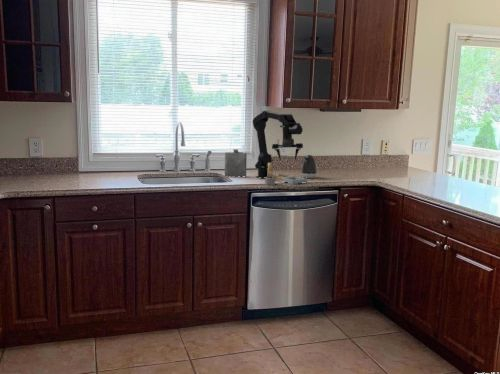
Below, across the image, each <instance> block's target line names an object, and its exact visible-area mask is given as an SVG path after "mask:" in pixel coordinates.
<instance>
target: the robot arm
mask: <svg viewBox="0 0 500 374" xmlns="http://www.w3.org/2000/svg"><path fill="white" fill-rule="evenodd" d="M269 119H273V120H277V121H279V123H281V124H280V126H279V127H280V128H282V143H281V144H280V143H272V145H271V149H273V150H274V151H276V153H277V156H278V158H279V160H280V161H282V156H281V149H282V148H284V149H286V148H295V152H294V161H297V158H298V157H297V156H298V154H299V152H300V150H301V149H303V148H304V144H303V143H302V142H301V143H300V142H295V140H294V138H293V135H295V136H296V135H301V134H302V133H303V130H304V129H303V126H302V125H301V123H299V122H297V121H296V120H295V118H294V117H293V114H291V113H280V112H279V113H278V112H274V111H270V110H262V111H261V113H259V114H258V115H256V116H254V118H253V119H252V125H253V128H254V129H255V131H256V133H257V134H256V136H257V141H258V142H257V143H258V149H259V154H258V157H257V162H256V163H255V164H254V168H255V169H257V175H256V176H255V177H256V178H258V177H268V163H273V162H272V161H273V159H272V154H270V153H269V152H268V147H267V140H266V139H267V138H266V131H265V130H266V127H267V122H268V121H269ZM295 143H296V144H295Z"/></svg>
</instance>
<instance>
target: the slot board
mask: <svg viewBox="0 0 500 374" xmlns="http://www.w3.org/2000/svg"><path fill="white" fill-rule="evenodd" d="M273 177H274V178H275V179H276V180H275V181H277V180H281V178H284V177H294V176H293V175H290V174H285V173H278V174H273Z"/></svg>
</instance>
